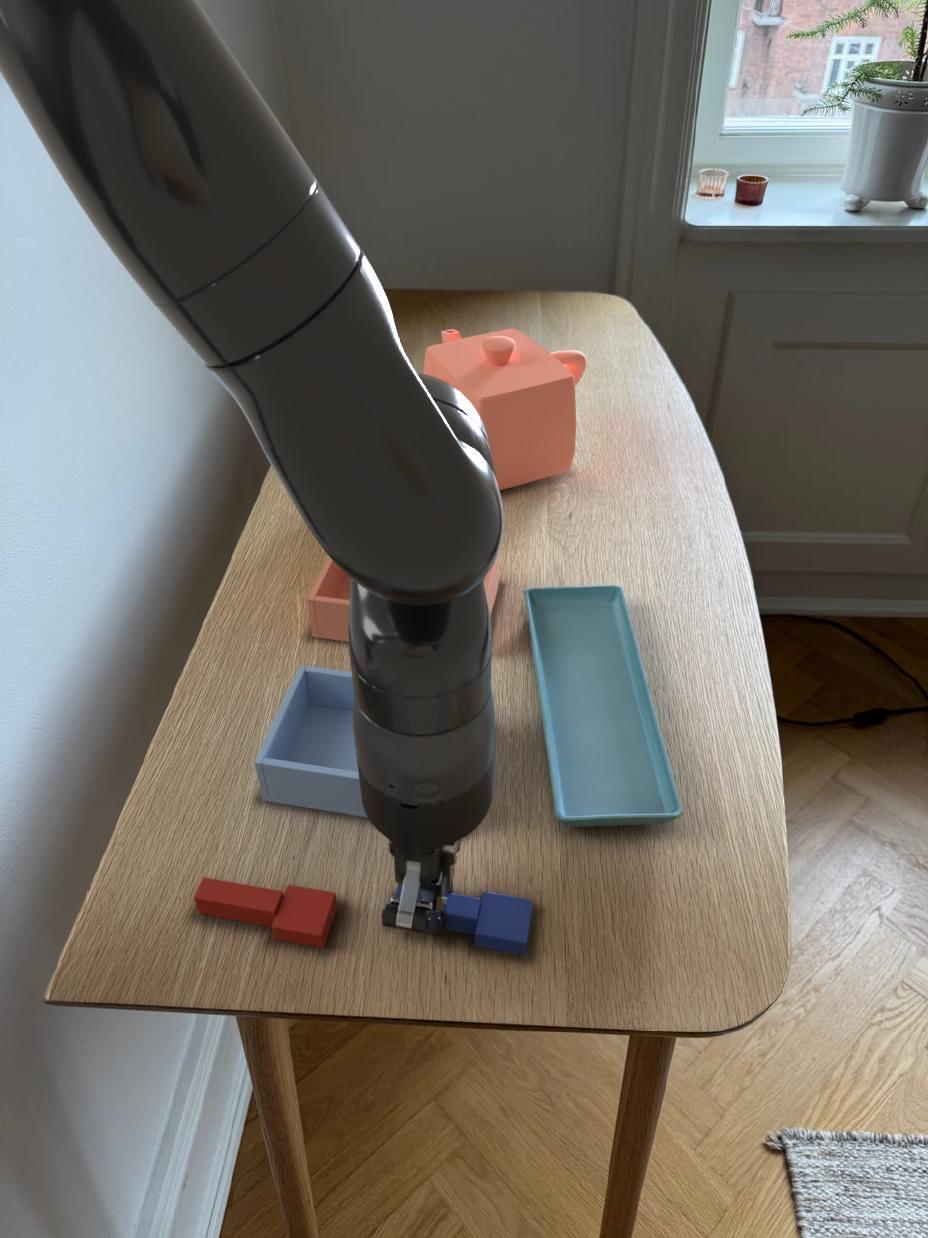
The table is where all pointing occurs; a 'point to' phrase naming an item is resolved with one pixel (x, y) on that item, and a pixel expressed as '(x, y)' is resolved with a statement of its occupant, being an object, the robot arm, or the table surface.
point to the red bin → (334, 600)
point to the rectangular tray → (598, 710)
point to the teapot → (515, 398)
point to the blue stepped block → (490, 920)
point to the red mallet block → (271, 909)
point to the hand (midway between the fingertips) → (432, 913)
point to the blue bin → (313, 745)
